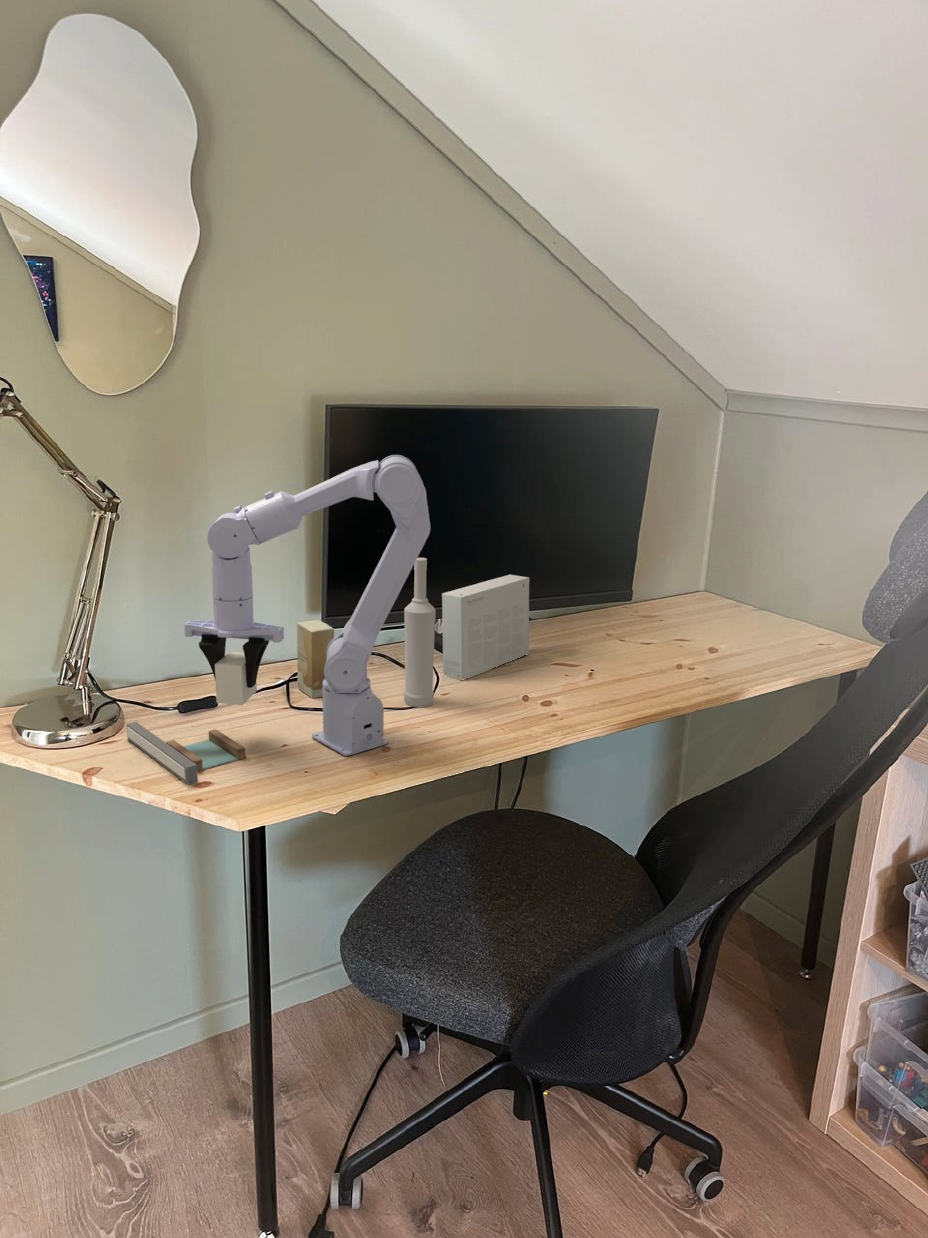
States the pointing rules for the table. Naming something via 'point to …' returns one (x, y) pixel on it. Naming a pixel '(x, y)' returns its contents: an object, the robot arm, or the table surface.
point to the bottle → (419, 642)
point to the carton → (232, 680)
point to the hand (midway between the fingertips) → (236, 684)
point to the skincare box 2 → (485, 625)
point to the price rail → (162, 753)
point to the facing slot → (211, 751)
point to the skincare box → (312, 655)
